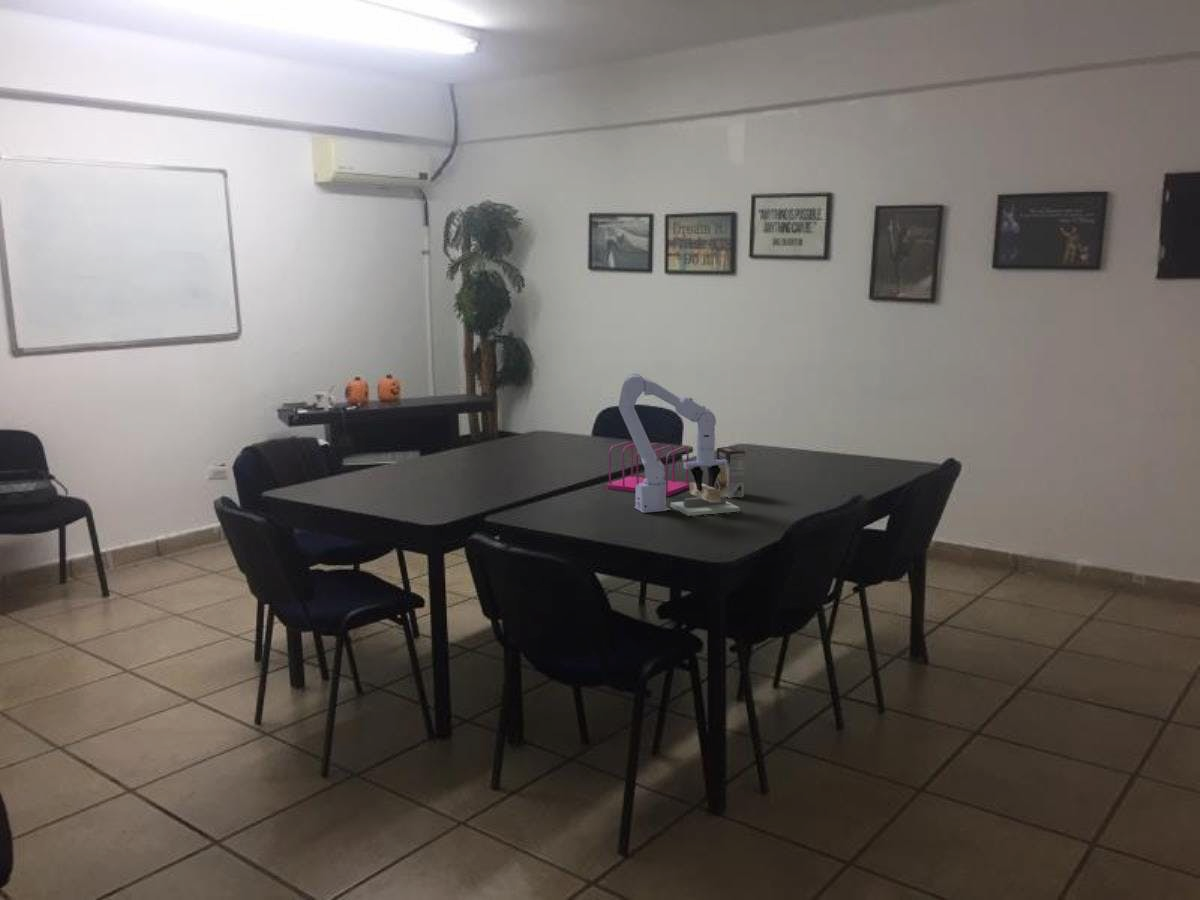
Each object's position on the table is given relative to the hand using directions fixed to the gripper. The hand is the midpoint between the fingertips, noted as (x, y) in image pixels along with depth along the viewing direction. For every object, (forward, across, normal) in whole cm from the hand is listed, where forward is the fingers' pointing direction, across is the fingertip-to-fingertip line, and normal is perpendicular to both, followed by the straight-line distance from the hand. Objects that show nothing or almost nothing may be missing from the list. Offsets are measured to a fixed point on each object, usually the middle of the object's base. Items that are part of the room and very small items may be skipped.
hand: (705, 489), depth 309 cm
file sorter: (+7, -5, +36) cm, 37 cm away
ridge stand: (+7, 0, 0) cm, 7 cm away
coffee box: (+7, +17, +16) cm, 24 cm away
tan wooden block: (+3, 0, 0) cm, 3 cm away
